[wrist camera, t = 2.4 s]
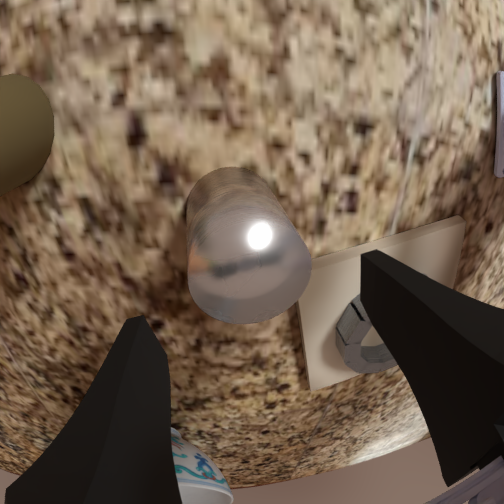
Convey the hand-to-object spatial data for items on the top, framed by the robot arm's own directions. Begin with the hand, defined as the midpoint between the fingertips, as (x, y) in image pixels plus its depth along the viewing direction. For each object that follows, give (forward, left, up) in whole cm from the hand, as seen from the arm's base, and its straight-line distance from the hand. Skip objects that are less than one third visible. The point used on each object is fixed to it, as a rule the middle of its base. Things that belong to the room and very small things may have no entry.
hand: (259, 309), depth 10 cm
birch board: (-9, +11, -8) cm, 16 cm away
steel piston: (0, 0, -8) cm, 8 cm away
